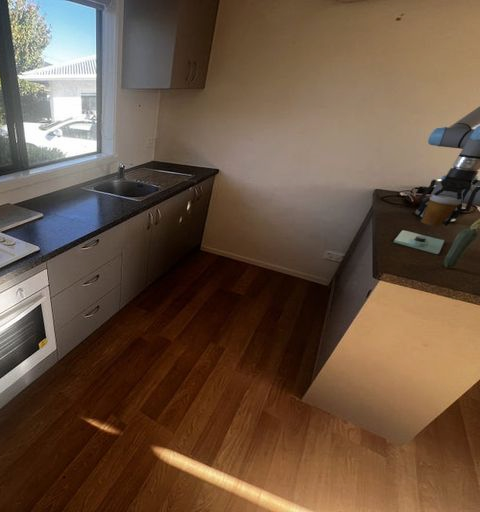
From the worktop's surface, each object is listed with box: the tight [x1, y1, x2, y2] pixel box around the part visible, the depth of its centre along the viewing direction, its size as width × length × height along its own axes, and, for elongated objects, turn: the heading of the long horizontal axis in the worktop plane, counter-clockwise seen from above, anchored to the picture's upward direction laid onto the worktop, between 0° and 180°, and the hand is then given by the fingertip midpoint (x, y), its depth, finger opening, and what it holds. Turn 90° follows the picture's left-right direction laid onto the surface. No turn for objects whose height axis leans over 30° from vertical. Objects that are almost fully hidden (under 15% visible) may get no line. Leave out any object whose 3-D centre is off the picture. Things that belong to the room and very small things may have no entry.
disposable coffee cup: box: [420, 194, 461, 227], centre depth 123 cm, size 10×10×12 cm
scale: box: [393, 229, 445, 255], centre depth 128 cm, size 18×14×3 cm
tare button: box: [415, 236, 426, 242], centre depth 124 cm, size 3×3×2 cm
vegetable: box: [443, 217, 480, 269], centre depth 105 cm, size 4×4×20 cm
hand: (431, 221), depth 126 cm, fingers closed on disposable coffee cup, 8 cm apart
